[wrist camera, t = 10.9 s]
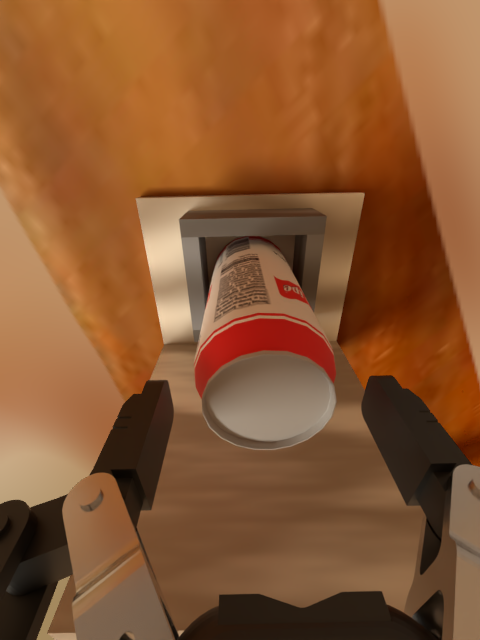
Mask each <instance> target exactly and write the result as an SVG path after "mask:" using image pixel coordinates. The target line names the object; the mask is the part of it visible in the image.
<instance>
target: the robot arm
mask: <svg viewBox="0 0 480 640" xmlns="http://www.w3.org/2000/svg"><path fill="white" fill-rule="evenodd" d="M361 411H362V415H363V418H364V420H365V422H366V424H367V426H368V428H369V431H370V433H371V435H372V437H373V439H374V441H375V443H376V445H377V447H378V449H379V451H380V453H381V455H382V457H383V459H384V461H385V463H386V465H387V467H388V469H389V471H390V473H391V475H392V477H393V479H394V481H395V483H396V485H397V487H398V489H399V491H400V493H401V495H402V497H403V499H404V501H405V503H406V505H407V506H421V508H422V510H423V512H424V513H425V514H424V516H423V519H422V525H421V532H420V539H419V546H418V553H417V560H416V567H415V574H414V579H413V582H412V586H411V588H410V590H409V593H408V596H407V600H406V604H405V609H404V612H402V611H400V610H398V609H396V608H394V607H392V606H390V605H387V604H386V602H385V599H384V596H383V593H382V591H357V592H340V593H338V594H336V595H333V596H331V597H329V598H326V599H324V600H322V601H319V602H317V603H315V604H312V605H310V606H308V607H305V608H300V607H297V606H294V605H291V604H288V603H285V602H282V601H279V600H276V599H273V598H270V597H267V596H264V595H261V594H222V595H219V606H217V607H214V608H212V609H210V610H208V611H207V612H205V613H203V614H202V615H200V616H199V617H198V618H197V619H196V620H194V621H193V622H192V623H191V624H190V625H189V626H188V627H187V628H186V629H185V630H184V632H183V633H182V634H181V635H180V636H179V634H178V631H177V629H176V626H175V623H174V621H173V618H172V615H171V613H170V610H169V608H168V605H167V603H166V600H165V598H164V595H163V593H162V591H161V588H160V586H159V583H158V581H157V578H156V575H155V573H154V570H153V568H152V565H151V562H150V560H149V557H148V554H147V552H146V549H145V547H144V544H143V541H142V539H141V536H140V534H139V531H138V528H137V523H138V520H139V516H140V512H141V511H147V510H152V505H153V501H154V497H155V493H156V489H157V485H158V481H159V477H160V473H161V469H162V465H163V460H164V456H165V452H166V448H167V444H168V440H169V436H170V432H171V428H172V424H173V418H174V407H173V402H172V397H171V392H170V387H169V383H168V380H148V381H147V382H146V384H145V386H144V389H143V391H142V393H141V394H133V395H132V396H131V397H130V398H129V399H128V400H127V401H126V402H125V403H124V404H123V406H122V408H121V410H120V412H119V415H118V418H117V419H116V421H115V423H114V425H113V429H112V430H111V432H110V434H109V436H108V438H107V440H106V443H105V445H104V447H103V449H102V451H101V453H100V455H99V457H98V460H97V462H96V464H95V466H94V469H93V470H92V472H91V473H90V475H89V476H88V477H86V478H84V479H82V480H81V481H80V482H78V483H77V484H76V485H75V486H74V487H73V488H72V490H71V491H70V492H69V493H68V494H67V495H65V496H62V497H60V498H57V499H54V500H51V501H48V502H45V503H42V504H39V505H36V506H33V507H31V508H30V507H29V506H28V505H27V504H26V503H25V502H24V501H21V500H11V501H7V502H4V503H2V504H0V640H36V639H37V636H38V634H39V631H40V628H41V626H42V623H43V621H44V618H45V615H46V613H47V610H48V607H49V605H50V602H51V599H52V597H53V594H54V592H55V589H56V586H57V583H58V581H59V580H61V579H63V578H66V577H68V576H70V575H74V581H75V587H76V595H75V597H74V598H73V602H72V611H73V620H74V626H75V632H76V638H77V640H480V467H477V466H474V465H472V464H471V463H470V462H469V460H468V459H467V458H466V456H465V455H464V454H463V453H462V451H461V450H460V449H459V447H458V446H457V445H456V444H455V442H454V441H453V440H452V438H451V437H450V436H449V435H448V433H447V432H446V431H445V429H444V428H443V427H442V426H441V424H440V423H438V420H437V419H436V418H435V417H434V415H433V414H432V413H430V410H429V409H428V408H427V406H426V405H425V404H424V402H423V401H422V400H421V399H420V398H419V397H418V396H416V395H415V394H414V393H412V392H411V391H410V390H409V389H402V387H401V386H400V384H399V383H398V382H397V380H396V379H395V378H394V377H393V376H391V375H386V376H370V377H369V379H368V383H367V386H366V389H365V393H364V396H363V399H362V403H361Z"/></svg>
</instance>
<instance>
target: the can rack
mask: <svg viewBox="0 0 480 640" xmlns="http://www.w3.org/2000/svg"><path fill="white" fill-rule="evenodd" d="M364 195H365V193H361V192H345V193H300V194H255V195H210V196H165V197H138V198H136V202H137V207H138V212H139V217H140V223H141V228H142V233H143V238H144V243H145V248H146V253H147V259H148V264H149V269H150V274H151V279H152V284H153V289H154V295H155V300H156V305H157V310H158V315H159V320H160V326H161V331H162V336H163V341H164V346H163V349H162V351H161V354H160V356H159V359H158V361H157V364H156V366H155V369H154V371H153V374H152V376H151V379H150V380H168V383H169V387H170V392H171V397H172V402H173V407H174V418H173V424H172V428H171V432H170V436H169V440H168V444H167V448H166V452H165V456H164V460H163V465H162V469H161V473H160V477H159V481H158V485H157V489H156V493H155V497H154V501H153V505H152V510H147V511H141V512H140V516H139V520H138V523H137V528H138V531H139V534H140V536H141V539H142V541H143V544H144V547H145V549H146V552H147V554H148V557H149V560H150V562H151V565H152V568H153V570H154V573H155V575H156V578H157V581H158V583H159V586H160V588H161V591H162V593H163V595H164V598H165V600H166V603H167V605H168V608H169V610H170V613H171V615H172V618H173V621H174V623H175V626H176V629H177V631H178V634H179V636H180V635H181V634H182V633H183V632H184V630H185V629H186V628H187V627H188V626H189V625H190V624H191V623H192V622H193V621H194V620H196V619H197V618H198V617H199V616H200V615H202V614H203V613H205V612H207V611H208V610H210V609H212V608H214V607H217V606H219V595H222V594H261V595H264V596H267V597H270V598H273V599H276V600H279V601H282V602H285V603H288V604H291V605H294V606H297V607H300V608H305V607H308V606H310V605H312V604H315V603H317V602H319V601H322V600H324V599H326V598H329V597H331V596H333V595H336V594H338V593H340V592H357V591H382V593H383V596H384V599H385V602H386V604H387V605H390V606H392V607H394V608H396V609H398V610H400V611H402V612H404V609H405V604H406V600H407V596H408V593H409V590H410V588H411V586H412V582H413V579H414V574H415V567H416V560H417V553H418V546H419V539H420V532H421V525H422V519H423V516H424V514H425V513H424V512H423V510H422V508H421V506H407V505H406V503H405V501H404V499H403V497H402V495H401V493H400V491H399V489H398V487H397V485H396V483H395V481H394V479H393V477H392V475H391V473H390V471H389V469H388V467H387V465H386V463H385V461H384V459H383V457H382V455H381V453H380V451H379V449H378V447H377V445H376V443H375V441H374V439H373V437H372V435H371V433H370V431H369V428H368V426H367V424H366V422H365V420H364V418H363V415H362V411H361V403H362V399H363V396H364V393H365V390H364V388H363V387H362V385H361V383H360V381H359V380H358V378H357V376H356V374H355V373H354V371H353V369H352V367H351V366H350V364H349V362H348V360H347V358H346V357H345V355H344V353H343V351H342V350H341V348H340V346H339V344H338V343H337V336H338V331H339V325H340V320H341V315H342V310H343V305H344V299H345V294H346V289H347V284H348V279H349V273H350V268H351V263H352V258H353V253H354V247H355V242H356V237H357V232H358V227H359V221H360V216H361V211H362V206H363V201H364ZM244 236H260V237H262V238H265V239H268V240H270V241H271V242H272V243H274V244H275V245H276V246H277V247H278V248H279V249H280V250H281V252H282V254H283V255H284V257H285V259H286V261H287V263H288V265H289V266H290V268H291V270H292V272H293V274H294V276H295V278H296V280H297V282H298V284H299V285H300V287H301V289H302V291H303V293H304V295H305V297H306V299H307V301H308V303H309V305H310V306H311V308H312V310H313V312H314V314H315V316H316V318H317V320H318V322H319V324H320V325H321V327H322V329H323V331H324V333H325V335H326V337H327V339H328V341H329V343H330V345H331V346H332V349H333V353H334V360H335V368H336V377H335V380H334V386H335V393H336V400H337V402H336V406H335V409H334V412H333V416H332V417H331V419H330V420H329V421H328V423H327V424H326V425H325V426H324V428H323V429H322V430H321V431H319V432H318V433H316V434H315V435H314V436H312V437H311V438H309V439H308V440H306V441H303V442H301V443H298V444H296V445H294V446H291V447H286V448H280V449H275V450H253V449H249V448H244V447H240V446H236V445H234V444H232V443H230V442H228V441H226V440H224V439H222V438H220V437H219V436H218V435H217V434H216V433H215V432H214V431H212V430H211V429H210V428H209V426H208V424H207V422H206V420H205V418H204V416H203V414H202V399H201V397H200V395H199V393H198V391H197V389H196V386H195V375H194V360H195V355H196V350H197V346H198V341H199V336H200V332H201V327H202V322H203V318H204V313H205V308H206V304H207V299H208V294H209V289H210V285H211V280H212V275H213V271H214V266H215V263H216V260H217V257H218V255H219V254H220V252H221V251H222V250H223V248H224V247H225V246H226V245H227V244H229V243H230V242H232V241H233V240H235V239H237V238H241V237H244ZM75 595H76V587H75V581H74V575H71V576H70V578H69V581H68V583H67V586H66V588H65V591H64V593H63V596H62V598H61V601H60V603H59V605H58V608H57V611H56V613H55V615H54V618H53V620H52V623H51V625H50V628H49V630H48V632H47V634H49V635H50V636H51V637H53V638H54V639H55V640H77V638H76V632H75V626H74V620H73V611H72V602H73V598H74V597H75Z"/></svg>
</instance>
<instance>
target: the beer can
mask: <svg viewBox="0 0 480 640" xmlns="http://www.w3.org/2000/svg"><path fill="white" fill-rule="evenodd" d="M194 375H195V386H196V389H197V391H198V393H199V395H200V397H201V399H202V414H203V416H204V418H205V420H206V422H207V424H208V426H209V428H210V429H211V430H212V431H214V432H215V433H216V434H217V435H218V436H219V437H220V438H222V439H224V440H226V441H228V442H230V443H232V444H234V445H236V446H240V447H244V448H249V449H253V450H275V449H280V448H286V447H291V446H294V445H296V444H298V443H301V442H303V441H306V440H308V439H309V438H311V437H312V436H314V435H315V434H316V433H318V432H319V431H321V430H322V429H323V428H324V426H325V425H326V424H327V423H328V421H329V420H330V419H331V417H332V416H333V412H334V409H335V406H336V402H337V400H336V393H335V386H334V380H335V377H336V368H335V360H334V353H333V349H332V346H331V345H330V343H329V341H328V339H327V337H326V335H325V333H324V331H323V329H322V327H321V325H320V324H319V322H318V320H317V318H316V316H315V314H314V312H313V310H312V308H311V306H310V305H309V303H308V301H307V299H306V297H305V295H304V293H303V291H302V289H301V287H300V285H299V284H298V282H297V280H296V278H295V276H294V274H293V272H292V270H291V268H290V266H289V265H288V263H287V261H286V259H285V257H284V255H283V254H282V252H281V250H280V249H279V248H278V247H277V246H276V245H275V244H274V243H272V242H271V241H270V240H268V239H265V238H262V237H260V236H244V237H241V238H237V239H235V240H233V241H232V242H230V243H229V244H227V245H226V246H225V247H224V248H223V250H222V251H221V252H220V254H219V255H218V257H217V260H216V263H215V266H214V271H213V275H212V280H211V285H210V289H209V294H208V299H207V304H206V308H205V313H204V318H203V322H202V327H201V332H200V336H199V341H198V346H197V350H196V355H195V360H194Z"/></svg>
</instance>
